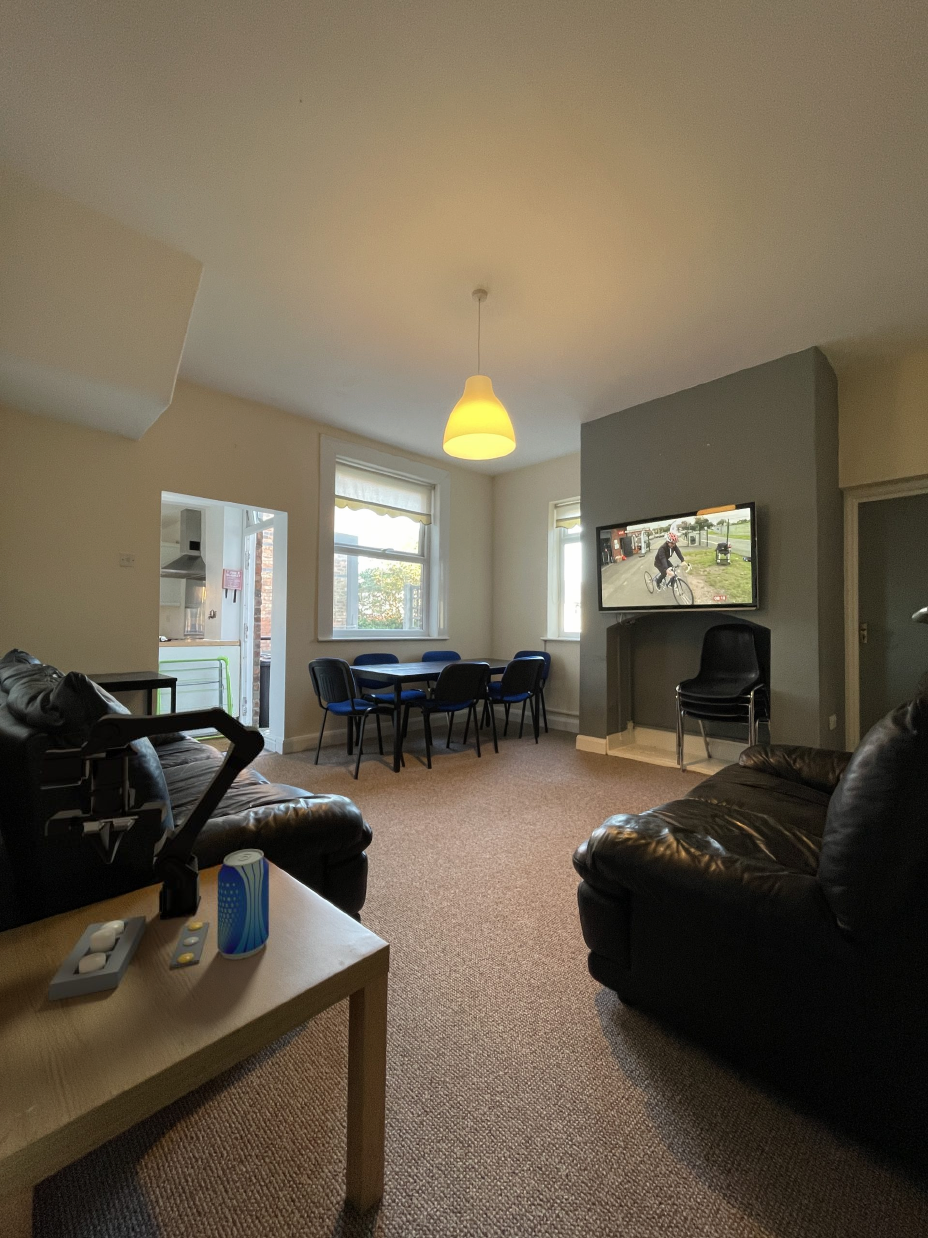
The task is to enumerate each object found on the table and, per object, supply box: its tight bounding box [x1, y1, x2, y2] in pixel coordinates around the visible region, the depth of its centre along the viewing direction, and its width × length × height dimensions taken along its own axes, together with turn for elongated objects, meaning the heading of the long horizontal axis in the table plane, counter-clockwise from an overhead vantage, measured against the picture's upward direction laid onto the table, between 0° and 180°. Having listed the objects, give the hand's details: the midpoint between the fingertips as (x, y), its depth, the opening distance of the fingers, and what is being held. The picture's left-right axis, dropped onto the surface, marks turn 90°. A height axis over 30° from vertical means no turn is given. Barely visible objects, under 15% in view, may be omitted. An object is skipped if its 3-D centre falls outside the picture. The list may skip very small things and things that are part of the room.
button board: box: [48, 915, 147, 1002], centre depth 88 cm, size 9×17×2 cm, turn 19°
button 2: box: [100, 920, 124, 936], centre depth 93 cm, size 4×4×2 cm
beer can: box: [216, 848, 270, 961], centre depth 92 cm, size 8×8×16 cm
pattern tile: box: [169, 921, 210, 969], centre depth 92 cm, size 4×12×1 cm, turn 19°
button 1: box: [79, 952, 106, 974], centre depth 83 cm, size 4×4×2 cm
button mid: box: [90, 928, 115, 954], centre depth 88 cm, size 4×4×2 cm
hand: (109, 862), depth 99 cm, fingers closed
